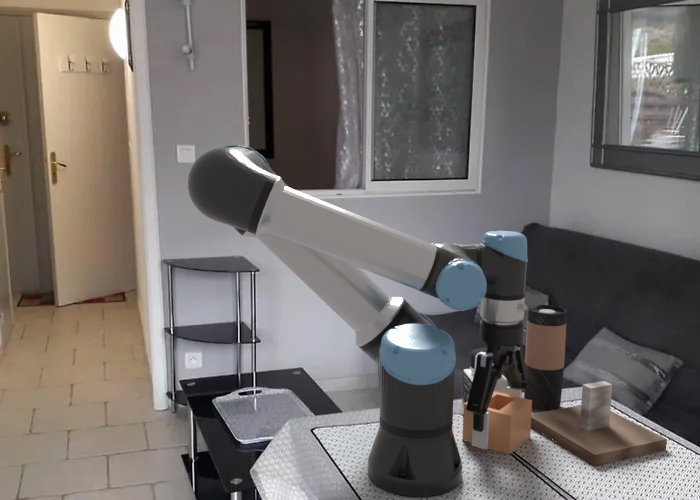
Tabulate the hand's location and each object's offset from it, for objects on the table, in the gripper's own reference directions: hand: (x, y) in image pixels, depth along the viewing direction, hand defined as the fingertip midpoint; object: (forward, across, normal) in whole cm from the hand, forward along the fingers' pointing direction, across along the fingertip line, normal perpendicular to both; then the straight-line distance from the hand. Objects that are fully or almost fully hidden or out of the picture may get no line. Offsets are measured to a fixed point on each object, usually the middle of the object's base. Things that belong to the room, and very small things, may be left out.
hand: (496, 433), depth 127 cm
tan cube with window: (+1, 0, 0) cm, 1 cm away
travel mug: (+1, +21, 0) cm, 21 cm away
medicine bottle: (+1, +12, +8) cm, 14 cm away
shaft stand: (+1, +12, -14) cm, 18 cm away
